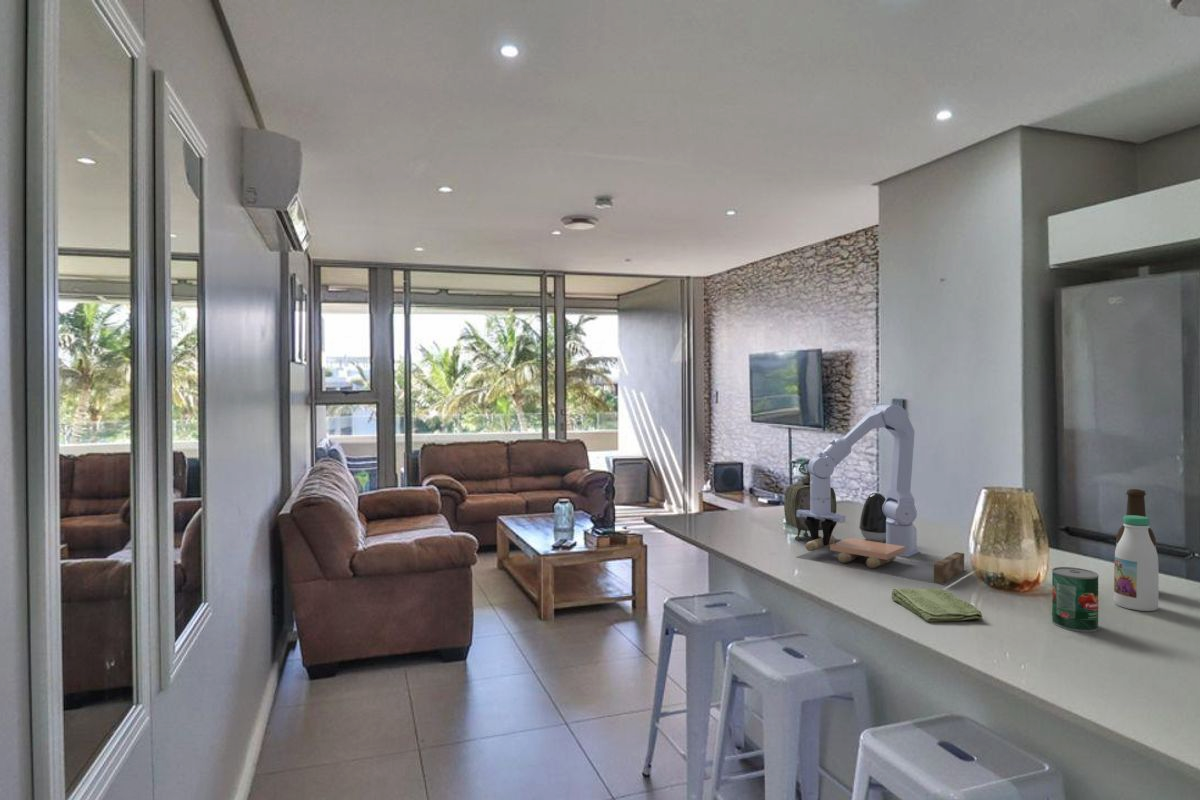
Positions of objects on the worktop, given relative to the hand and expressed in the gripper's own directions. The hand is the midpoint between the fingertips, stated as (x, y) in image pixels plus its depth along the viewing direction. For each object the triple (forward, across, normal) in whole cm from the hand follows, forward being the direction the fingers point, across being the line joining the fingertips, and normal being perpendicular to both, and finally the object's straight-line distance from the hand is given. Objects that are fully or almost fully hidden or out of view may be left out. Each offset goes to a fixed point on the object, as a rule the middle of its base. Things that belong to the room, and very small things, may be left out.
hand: (820, 544), depth 201 cm
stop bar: (+3, +36, 0) cm, 36 cm away
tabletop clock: (+3, -13, +17) cm, 22 cm away
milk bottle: (+4, +73, +4) cm, 73 cm away
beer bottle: (+4, +71, +19) cm, 73 cm away
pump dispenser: (+3, +4, +29) cm, 29 cm away
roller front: (+3, +18, 0) cm, 18 cm away
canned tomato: (+3, +66, -19) cm, 69 cm away
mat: (+3, +17, 0) cm, 17 cm away
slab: (0, +14, 0) cm, 14 cm away
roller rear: (+3, +10, 0) cm, 10 cm away
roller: (+1, 0, 0) cm, 1 cm away
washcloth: (+4, +42, -28) cm, 50 cm away
